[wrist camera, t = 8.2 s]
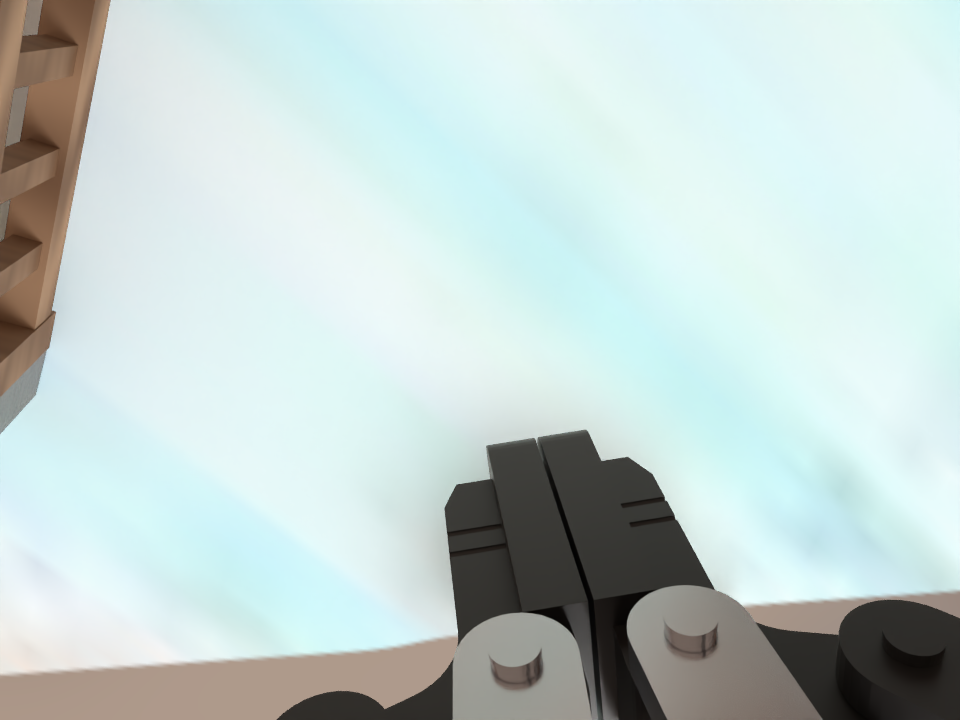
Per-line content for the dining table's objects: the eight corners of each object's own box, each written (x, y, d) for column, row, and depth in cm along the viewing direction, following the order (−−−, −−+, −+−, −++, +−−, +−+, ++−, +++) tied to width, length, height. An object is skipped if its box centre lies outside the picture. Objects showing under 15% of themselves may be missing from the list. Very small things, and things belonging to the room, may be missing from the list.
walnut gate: (79, -94, 27) (-55, -139, 19) (130, -75, 27) (19, -109, 19) (6, 335, 32) (-123, 448, 24) (48, 347, 33) (-65, 462, 24)
